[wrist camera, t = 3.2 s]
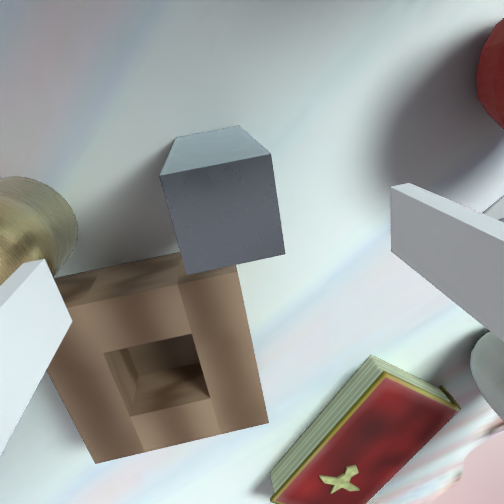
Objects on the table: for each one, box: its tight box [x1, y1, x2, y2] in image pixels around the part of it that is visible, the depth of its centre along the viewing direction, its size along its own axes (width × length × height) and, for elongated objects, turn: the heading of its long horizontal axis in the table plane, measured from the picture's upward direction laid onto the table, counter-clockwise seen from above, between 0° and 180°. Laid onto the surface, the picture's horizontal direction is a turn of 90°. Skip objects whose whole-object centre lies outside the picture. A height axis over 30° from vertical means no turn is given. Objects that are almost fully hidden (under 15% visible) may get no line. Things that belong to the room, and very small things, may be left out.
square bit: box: [160, 126, 285, 275], centre depth 24 cm, size 5×5×14 cm
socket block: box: [47, 252, 269, 464], centre depth 33 cm, size 16×16×6 cm
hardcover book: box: [270, 355, 461, 504], centre depth 44 cm, size 12×21×4 cm, turn 148°
